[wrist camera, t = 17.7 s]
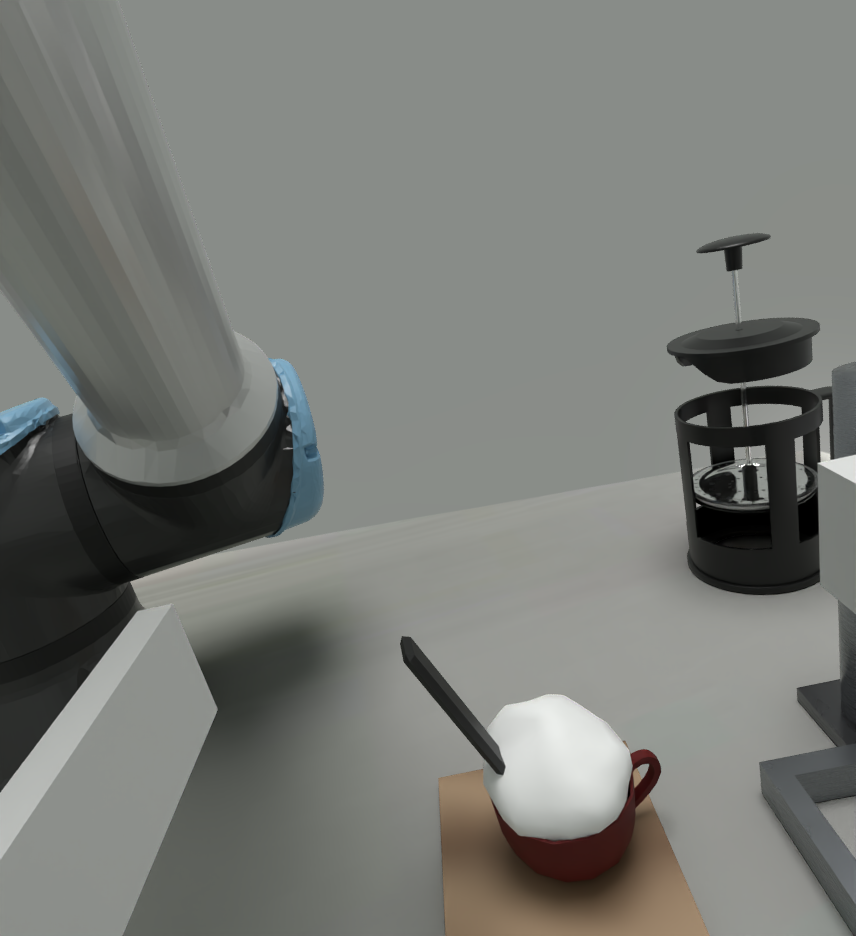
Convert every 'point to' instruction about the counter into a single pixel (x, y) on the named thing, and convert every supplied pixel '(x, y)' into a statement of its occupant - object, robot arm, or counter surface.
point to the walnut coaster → (547, 899)
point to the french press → (750, 480)
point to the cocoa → (551, 777)
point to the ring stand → (825, 727)
